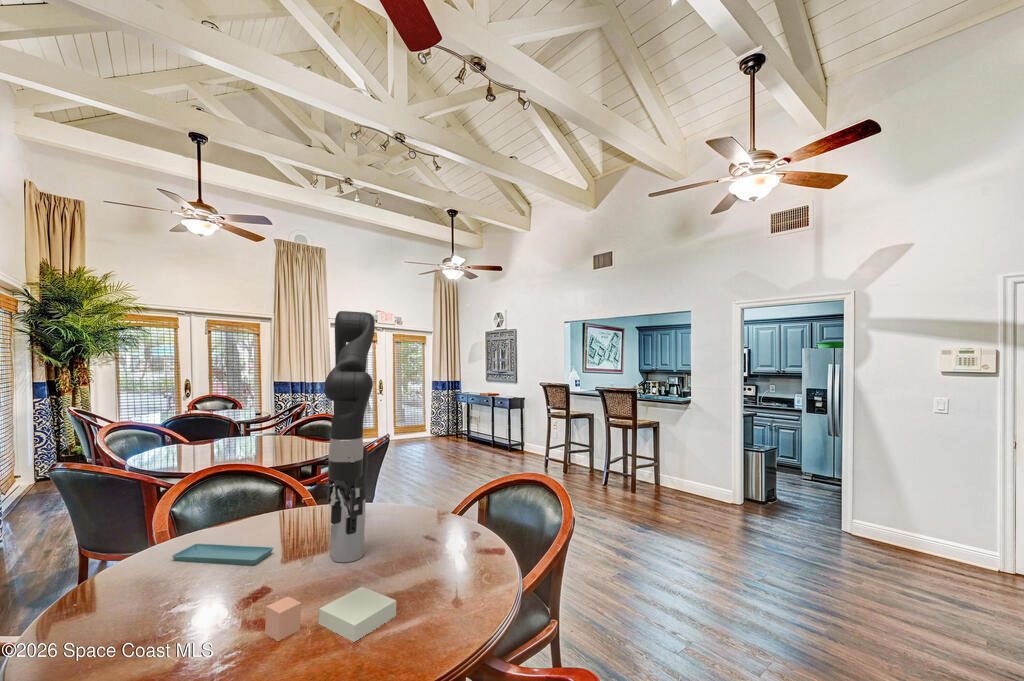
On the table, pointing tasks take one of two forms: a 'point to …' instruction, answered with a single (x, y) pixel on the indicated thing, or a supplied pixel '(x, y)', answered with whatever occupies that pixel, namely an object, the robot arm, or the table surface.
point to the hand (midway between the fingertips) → (343, 528)
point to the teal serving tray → (223, 554)
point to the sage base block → (357, 613)
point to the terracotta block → (283, 618)
